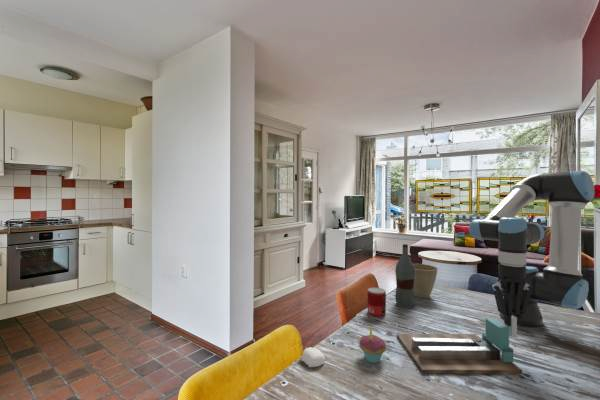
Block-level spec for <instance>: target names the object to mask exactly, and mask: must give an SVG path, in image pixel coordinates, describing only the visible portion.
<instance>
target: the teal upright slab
mask: <svg viewBox="0 0 600 400" xmlns="http://www.w3.org/2000/svg"><path fill="white" fill-rule="evenodd" d="M481 339H485V340H487V341H488V342H489V343H491V344H492V345H493V346H494V347H496V348H497V349H498V350H500V351H501V354H502V361H503V362H512V363H514V348H512V347H511V346H510V335H509V327H507V326H506V324H505V323H502V322H500V321H499V320H497V319H496V318H485V332H483V333H481Z"/></svg>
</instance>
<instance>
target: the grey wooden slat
mask: <svg viewBox="0 0 600 400" xmlns="http://www.w3.org/2000/svg"><path fill="white" fill-rule="evenodd" d="M419 346H466V347H475V342H474V341H472V340H471V339H451V338H412V347H413V349H414V350H419Z"/></svg>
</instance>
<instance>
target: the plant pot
mask: <svg viewBox="0 0 600 400" xmlns="http://www.w3.org/2000/svg"><path fill="white" fill-rule="evenodd" d="M413 264H414V268H415V277H414V294H415V298H416V297H417V298H420V299H429V298H430V296H431V295H432V294H431V293H432V291H433V289H434V286H435V282H436V279H437V275H438V267H437V266H434V265H431V264H423V263H413Z"/></svg>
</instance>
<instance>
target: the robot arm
mask: <svg viewBox="0 0 600 400" xmlns="http://www.w3.org/2000/svg"><path fill="white" fill-rule="evenodd" d="M595 195H596V192H595V184H594V180H593V179H592V176H591V175H590V174H589V173H588V171H585V170H570V171H569V170H567V171H555V172H540V173H535V174H532V175H530V176H527V177H525V178H523V179H521V180H519V181H518V182H516V183H515V184H514V185H513V186H512V187H511V188H510V190H509V193H508V195H506V196H505V197H504V198H503V199H502V200H501V201H500V202H499V203H498V204H497V205H496V206H495V207H494V208H493V209H492V210H491V211H489V213H488V214H487V215H486V216H484V218H483V219H481V218H478V219H473V220H471V221H470V222H469V227H468V228H469V229H468V231H469V234H470V236H471V237H472V238H474V239H481V240H487V241H497V242H498V247H497V249H498V250H497V251H498V253H497V254H498V257H497V260H498V264H497V269H498V270H497V274H498V279H497V282H496V283H494V284H493V283H491V284H490V287H491V289H492V290H493V294H494V299H495V305H496V308H497V312H499V317H500V318H502V319H503V320H504V321H503V324H504V325H505V326H507V327H509V337H511V338H517V337H518V336H517V334H518V333H517V331H518V326H519V325H520V326H523V327H541V326H543V324H544V317H543V316H542V312H541V310H540V308H539V307H540V306H539V304H538V303H539V302H544V303H548V304H552V305H556V306H559V307H562V308H567V309H573V310H578V309H581V308H582V307H583V305H584V304H585V303H586V300H587V298H588V296H589V295H588V294H589V289H590V287H589V286H590V285H589V282H588V281H587V280H586V279H583V274H582V272H581V271H580V270H579V269H578V266H579V265H578V264H579V252H580V251H579V249H580V248H579V247H580V236H581V235H580V233H581V222H582V221H581V219H582V218H581V217H582V209H583V208H585V207H587V206H588V201H592V200H593V199H594V198H595ZM541 200H544V201H547V204H548V205H549V206H550V207H551V208H552V211H551V225H550V239H549V241H550V242H549V252H548V253H549V255H548V265H547V266H546V267H544V268H543V270H542V272H540V271H539V268H538V267H536V266H529V265H527V245H533V244H538V243H539V242H541V241H542V240H543V239H544V237H545V230H544V228H543V227H542V226H541V225H540V224H539V223H537V222H532V221H527V220H526V219H525V218H524V217H516V216H518V214H519V213H520V212H521V211H522V210H523V209H524V208H525V207H526V206H527V205H529V204H532V203H533V202H534V201H541Z"/></svg>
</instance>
